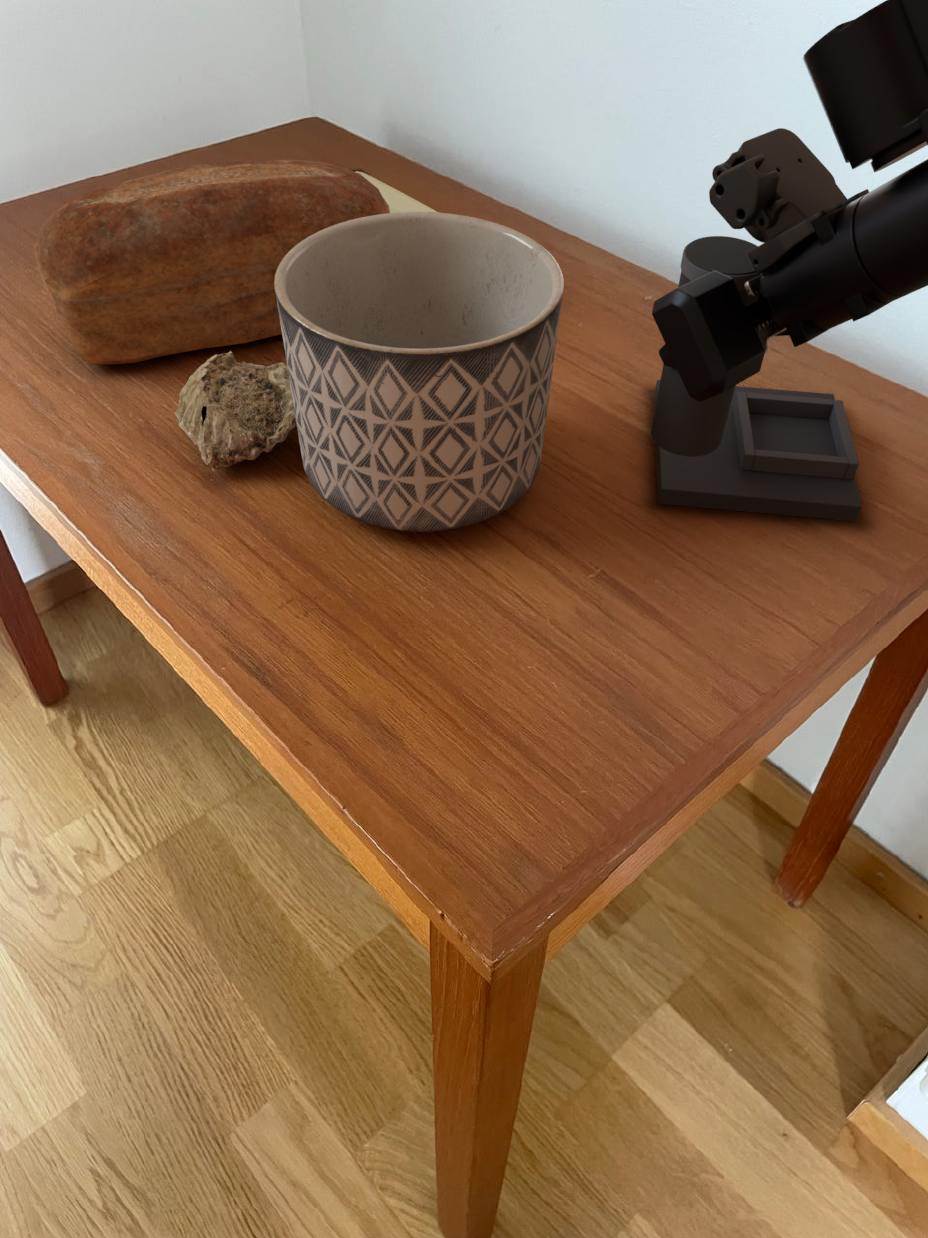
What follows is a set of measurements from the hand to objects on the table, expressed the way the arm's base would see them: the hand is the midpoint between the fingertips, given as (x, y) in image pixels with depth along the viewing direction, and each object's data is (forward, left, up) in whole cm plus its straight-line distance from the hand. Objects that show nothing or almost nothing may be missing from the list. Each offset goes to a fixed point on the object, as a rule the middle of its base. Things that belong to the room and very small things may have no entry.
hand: (689, 344), depth 65 cm
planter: (+18, -1, -14) cm, 23 cm away
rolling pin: (+24, -36, -14) cm, 46 cm away
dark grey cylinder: (-1, +1, -7) cm, 7 cm away
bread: (+39, -21, -14) cm, 47 cm away
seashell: (+33, -3, -14) cm, 36 cm away
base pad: (-8, -7, -13) cm, 17 cm away
